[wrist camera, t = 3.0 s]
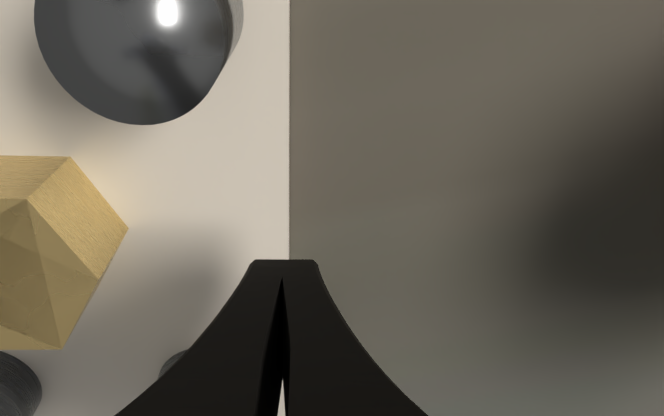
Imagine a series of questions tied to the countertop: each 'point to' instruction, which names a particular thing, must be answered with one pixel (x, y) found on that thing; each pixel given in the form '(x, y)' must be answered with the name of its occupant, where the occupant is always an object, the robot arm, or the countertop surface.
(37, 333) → the faceted gold polyhedron
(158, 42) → the spacers
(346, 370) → the robot arm
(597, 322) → the countertop surface
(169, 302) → the plate
